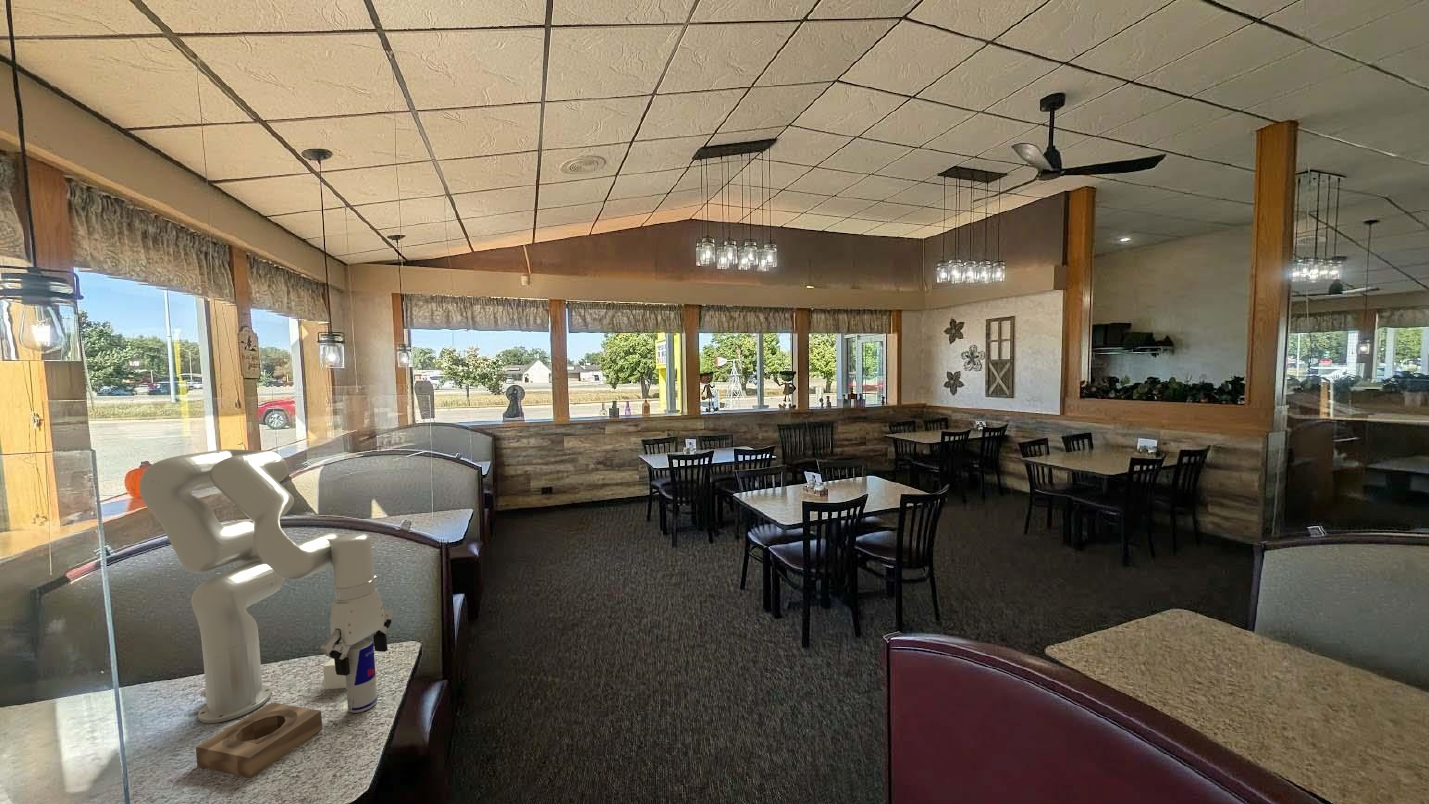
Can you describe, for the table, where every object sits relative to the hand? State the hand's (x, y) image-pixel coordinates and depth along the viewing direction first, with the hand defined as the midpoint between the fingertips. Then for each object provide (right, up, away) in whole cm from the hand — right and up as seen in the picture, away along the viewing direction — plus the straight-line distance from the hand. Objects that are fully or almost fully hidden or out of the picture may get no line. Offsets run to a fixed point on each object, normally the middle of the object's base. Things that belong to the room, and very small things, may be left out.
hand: (362, 662), depth 119 cm
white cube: (-11, -10, +11) cm, 19 cm away
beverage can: (0, -11, +1) cm, 11 cm away
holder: (-13, -12, -12) cm, 21 cm away
